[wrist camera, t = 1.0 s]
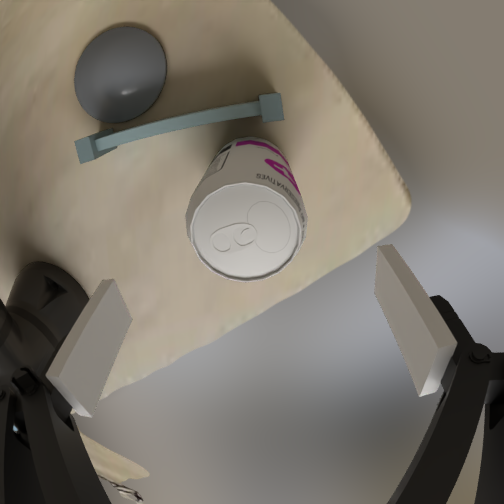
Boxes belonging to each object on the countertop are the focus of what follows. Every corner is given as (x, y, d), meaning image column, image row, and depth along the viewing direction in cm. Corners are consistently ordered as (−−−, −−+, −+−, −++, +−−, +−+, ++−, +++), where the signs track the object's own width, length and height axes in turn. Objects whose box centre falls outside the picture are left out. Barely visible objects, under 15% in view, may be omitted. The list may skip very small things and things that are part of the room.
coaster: (87, 133, 30) (84, 134, 29) (71, 48, 25) (68, 48, 24) (175, 107, 29) (173, 108, 29) (158, 14, 24) (156, 13, 23)
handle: (103, 151, 31) (80, 163, 26) (98, 132, 30) (74, 141, 25) (279, 115, 29) (284, 119, 25) (276, 92, 28) (280, 92, 23)
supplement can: (274, 125, 30) (288, 153, 17) (298, 196, 34) (323, 271, 21) (200, 150, 31) (159, 199, 18) (228, 218, 35) (211, 301, 22)
